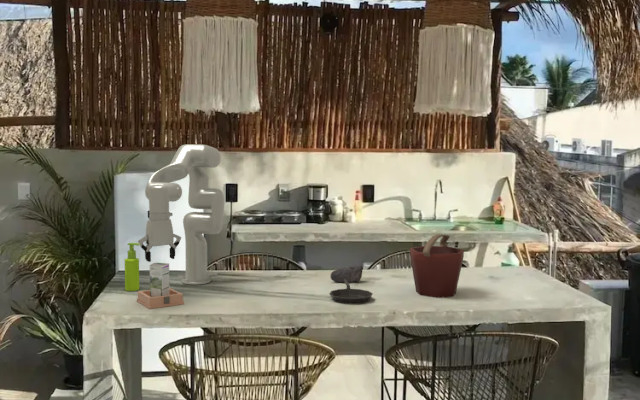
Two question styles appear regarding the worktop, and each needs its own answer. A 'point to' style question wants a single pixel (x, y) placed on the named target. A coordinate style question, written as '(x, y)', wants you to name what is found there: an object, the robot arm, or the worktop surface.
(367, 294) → the frying pan
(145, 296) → the pink square tray
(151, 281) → the syrup box
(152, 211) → the robot arm
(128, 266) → the soap dispenser
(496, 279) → the worktop surface
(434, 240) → the bucket
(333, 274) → the perforated stone tool
